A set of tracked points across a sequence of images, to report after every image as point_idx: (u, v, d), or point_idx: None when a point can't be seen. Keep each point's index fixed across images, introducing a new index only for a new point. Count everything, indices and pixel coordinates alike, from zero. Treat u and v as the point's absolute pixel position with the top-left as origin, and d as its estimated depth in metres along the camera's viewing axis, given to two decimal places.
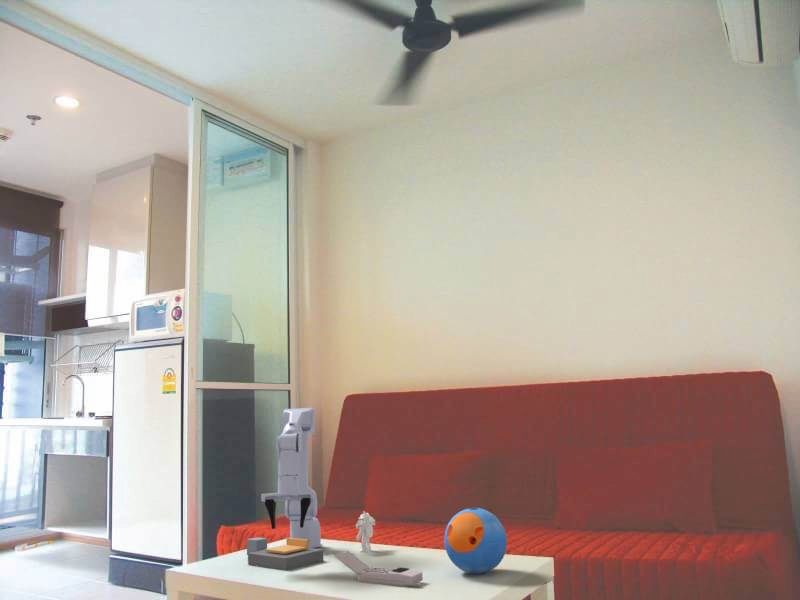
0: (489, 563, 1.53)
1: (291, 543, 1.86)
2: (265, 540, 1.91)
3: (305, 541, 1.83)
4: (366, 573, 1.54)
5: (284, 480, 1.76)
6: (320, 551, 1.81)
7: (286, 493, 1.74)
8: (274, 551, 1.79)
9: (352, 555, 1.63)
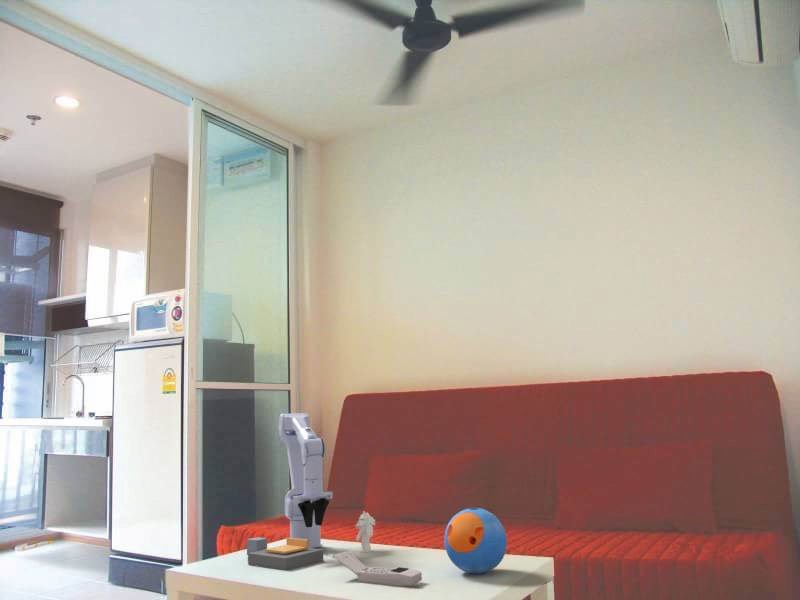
0: (489, 563, 1.53)
1: (291, 543, 1.86)
2: (265, 540, 1.91)
3: (305, 541, 1.83)
4: (365, 573, 1.54)
5: (317, 483, 1.92)
6: (320, 551, 1.81)
7: (322, 495, 1.91)
8: (274, 551, 1.79)
9: (351, 555, 1.63)
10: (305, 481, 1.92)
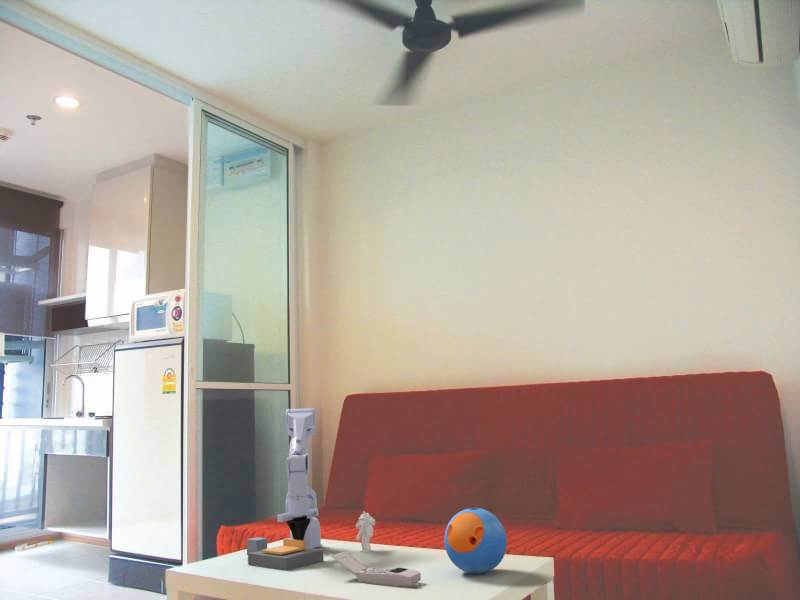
0: (489, 563, 1.53)
1: (288, 544, 1.85)
2: (265, 540, 1.91)
3: (302, 542, 1.82)
4: (364, 573, 1.53)
5: (302, 501, 1.86)
6: (320, 551, 1.81)
7: (307, 513, 1.85)
8: (271, 552, 1.78)
9: (350, 555, 1.62)
10: (290, 498, 1.86)
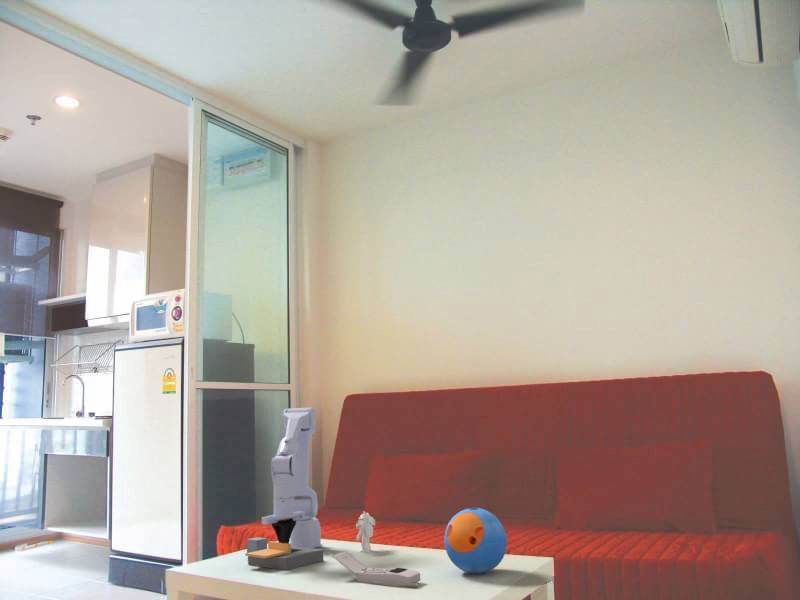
0: (489, 563, 1.53)
1: (273, 547, 1.81)
2: (265, 540, 1.91)
3: (287, 545, 1.78)
4: (364, 573, 1.53)
5: (288, 503, 1.82)
6: (320, 551, 1.81)
7: (293, 516, 1.81)
8: (254, 555, 1.74)
9: (350, 555, 1.63)
10: (275, 500, 1.82)
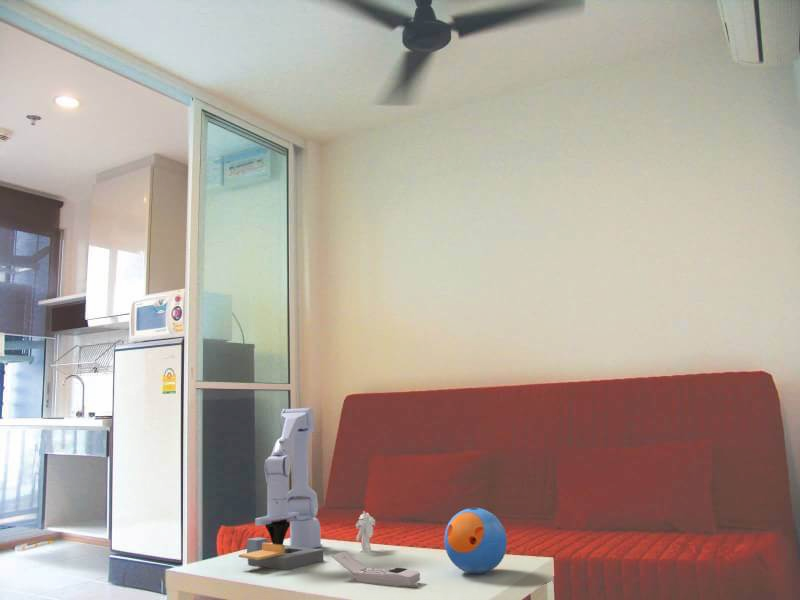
0: (489, 563, 1.53)
1: (266, 548, 1.79)
2: (265, 540, 1.91)
3: (281, 546, 1.76)
4: (363, 573, 1.53)
5: (282, 504, 1.80)
6: (320, 551, 1.81)
7: (287, 517, 1.79)
8: (248, 557, 1.72)
9: (349, 555, 1.62)
10: (269, 501, 1.80)
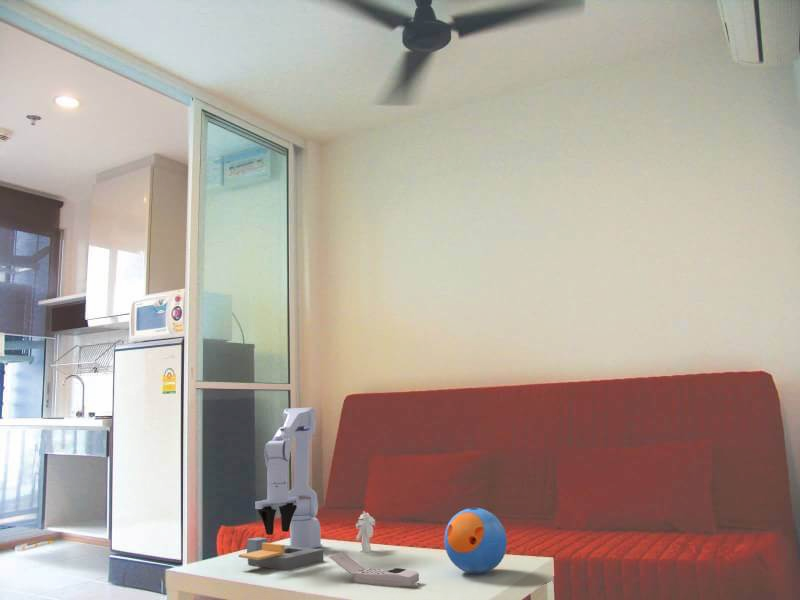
0: (489, 563, 1.53)
1: (266, 548, 1.79)
2: (265, 540, 1.91)
3: (280, 546, 1.76)
4: (362, 574, 1.53)
5: (281, 488, 1.81)
6: (320, 551, 1.81)
7: (287, 501, 1.80)
8: (248, 557, 1.72)
9: (346, 556, 1.62)
10: (268, 485, 1.81)
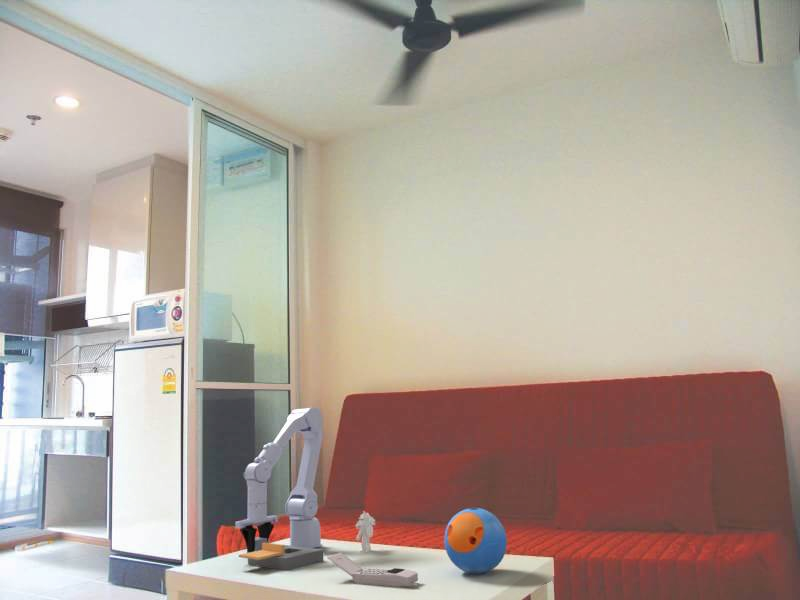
0: (489, 563, 1.53)
1: (266, 548, 1.79)
2: (265, 540, 1.91)
3: (280, 546, 1.76)
4: (360, 574, 1.53)
5: (261, 508, 1.91)
6: (320, 551, 1.81)
7: (265, 520, 1.90)
8: (248, 557, 1.72)
9: (345, 556, 1.61)
10: (248, 506, 1.92)
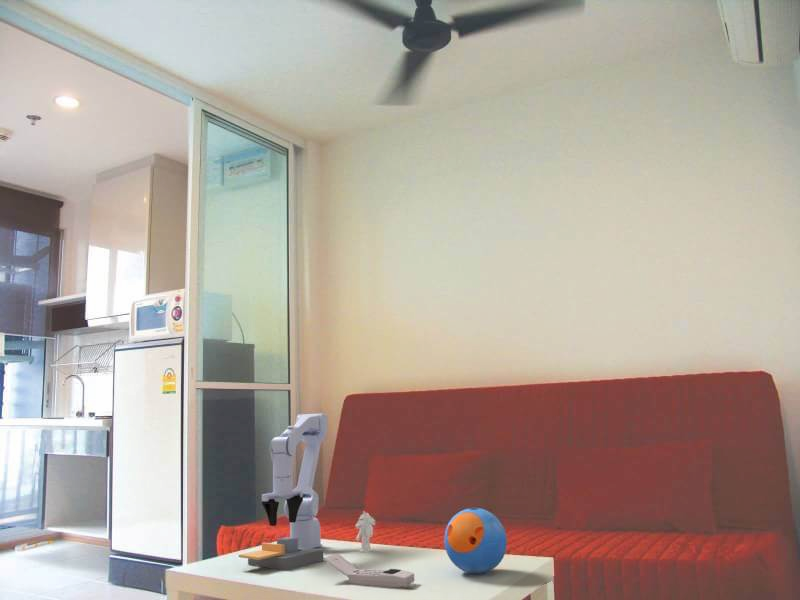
0: (489, 563, 1.53)
1: (266, 548, 1.79)
2: (296, 540, 1.83)
3: (280, 546, 1.76)
4: (357, 575, 1.52)
5: (286, 481, 1.91)
6: (320, 551, 1.81)
7: (291, 493, 1.91)
8: (248, 557, 1.72)
9: (341, 557, 1.61)
10: (274, 479, 1.92)
